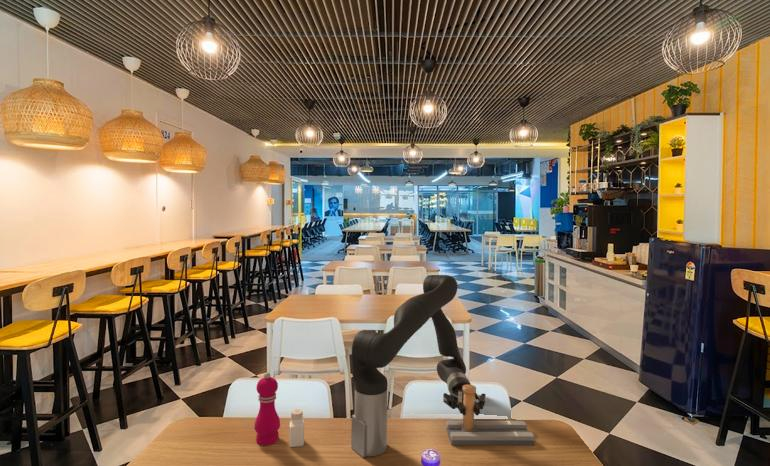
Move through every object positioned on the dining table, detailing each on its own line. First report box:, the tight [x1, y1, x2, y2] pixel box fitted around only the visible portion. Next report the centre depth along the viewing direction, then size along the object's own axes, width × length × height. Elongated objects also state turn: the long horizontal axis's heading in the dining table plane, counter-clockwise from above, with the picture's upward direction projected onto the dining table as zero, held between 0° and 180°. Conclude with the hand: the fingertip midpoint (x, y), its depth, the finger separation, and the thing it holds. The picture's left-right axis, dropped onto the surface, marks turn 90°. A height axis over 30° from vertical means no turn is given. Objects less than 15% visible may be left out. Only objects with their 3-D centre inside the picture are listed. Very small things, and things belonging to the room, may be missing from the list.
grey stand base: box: [446, 420, 536, 446], centre depth 128 cm, size 24×9×3 cm, turn 91°
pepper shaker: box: [289, 408, 305, 448], centre depth 123 cm, size 4×4×10 cm
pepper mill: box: [254, 372, 281, 446], centre depth 125 cm, size 7×7×20 cm
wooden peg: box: [461, 384, 477, 432], centre depth 128 cm, size 4×4×14 cm
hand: (470, 412), depth 125 cm, fingers closed on wooden peg, 3 cm apart
